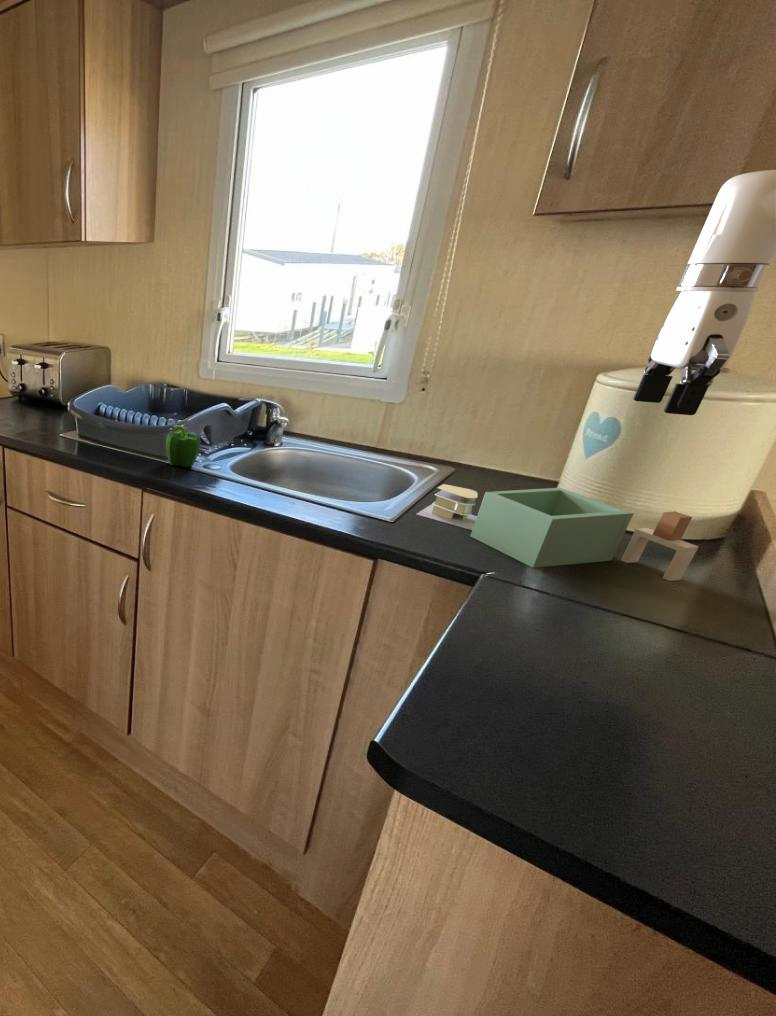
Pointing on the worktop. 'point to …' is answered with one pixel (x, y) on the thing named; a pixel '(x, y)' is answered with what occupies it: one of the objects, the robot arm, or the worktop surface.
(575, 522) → the tote
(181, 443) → the bell pepper
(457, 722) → the worktop surface
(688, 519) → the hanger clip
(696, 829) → the worktop surface
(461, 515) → the stacked layers on plate
